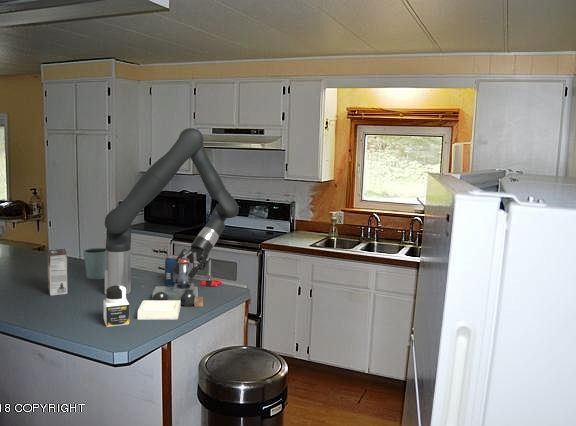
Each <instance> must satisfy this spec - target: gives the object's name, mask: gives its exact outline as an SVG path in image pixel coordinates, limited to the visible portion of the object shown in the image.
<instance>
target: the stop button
mask: <svg viewBox="0 0 576 426" xmlns="http://www.w3.org/2000/svg"><path fill="white" fill-rule="evenodd" d="M178 262H179V288H189V282H190V277H189V276H188V274H189V273H190V263H189V262H190V259H188V258H180V259H178Z"/></svg>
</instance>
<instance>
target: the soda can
mask: <svg viewBox="0 0 576 426" xmlns="http://www.w3.org/2000/svg"><path fill="white" fill-rule="evenodd" d="M178 256H179V254H178V255H177V254H171V255H170V254H169V255H167V256H166V257H165V258H166V259H165V260H164V282H165V284H166V286H174V284H175V283H179V273H178V274H175V273H174V272H173V270H174V268H175V267H176V265H177V264H178V263H177V261H176V258H177V257H178Z"/></svg>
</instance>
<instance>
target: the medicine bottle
mask: <svg viewBox="0 0 576 426" xmlns="http://www.w3.org/2000/svg"><path fill="white" fill-rule="evenodd" d="M105 295H106V299H103V320H104V324H105V326H106V328H109V327H117V326H126V325H129V324H130V302H129V301H128V299H127V294H126V288H125V287H123V286H118V285H117V286H111V287H109V288H107V289H106V294H105Z"/></svg>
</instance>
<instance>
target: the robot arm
mask: <svg viewBox="0 0 576 426" xmlns="http://www.w3.org/2000/svg"><path fill="white" fill-rule="evenodd" d="M189 159H191V161H192V163H193V165H194V166H195V168H196V171H197V173H198V175H199V176H200V178H201V182H202V183H203V185H204V187H205V190H206V192H208V195H209V196H210V198H211V199H212V200H215V201H217V204H216V206H214V209H213V210H212V213H211V216H210V218H209V220H208V221H207V223H206V224H205V226H204V227H203V228H202V229H201V230H200V231H199V233H198V234H197V236H195V239H194V240H193V242H192V243H191V245H190V247H191V248H190V249H189V250H187V249H186V248H183V249H182V251H181V252H180V253H179V254H178V257H177V258H176V261H177V263H178V264H177V265H176V267H175V268H174V270H173V272H174V273H175V274H178V273H179V262H178V259H180V258H188V259H190V262H189V264H193V265H194V267H192V269H191V270H189V274H188V276H189V279H193V278H194V277H195V276H196V275H197V273H198V272H199V271H204V270H205V269H206V267H208V262H209V261H210V259H211V260H212V257H211V258H210V257H209V256H210V255H209V254H210V252H211V251H212V249H213V248H214V246H215V245H216V243H218V242H217V241H218V240H219V238H220V236H221V235H222V233H223V231H224V230H225V229H226V224H225V221H226V220H227V219H232V218H233V219H234V218H235V217H237V216H238V214H239V205H238V203H237V201H236V199H235V198H234V197H233V196H232V194H231V193H230V192H229V191H228V190H227V188H226V186H225V184H224V183H223V180H222V178H221V177H220V175H219V173H218V172H217V170H216V169H215V167H214V165H213V163H212V162H211V160H210V158H209V156H208V154H207V151H206V149H205V147H204V136H203V133H202V132H201V131H200V130H199V129H196V128H194V127H188V128H187V127H186V128H185V129H183V130H182V131H181V132H180V134H179V136H178V138H177V140H175V142H174V144H173V145H172V146H171V148H170V149H168V151H167V152H166V153H165V154H164V155H162V156H161V157H160V158H159V159H158V160H157V161H155V162H154V163H153V164H152V165H151V166H150V167H148V169H147V170H146V171H145V173H143V174H142V176H141V177H140V178H139V179H138V181H137V182H136V183H135V184H134V186H133V187H132V189H131V190H130V192H129V193H128V195H127V196H126V197H125V198H124V199H123V201H121V202H120V203H119V204H118V205H117V206H116V207H114V208H113V209H111V210H110V211H109V212H108V213H107V214H106V216H105V218H104V226H105V229H106V238H105V239H106V240H105V248H106V270H105V271H104V273H105V278H104V295H106V289H107V288H109V287H111V286H117V285H118V286H123V287H125V288H126V295H128V294H130V293H131V290H132V289H131V288H132V285H131V281H132V277H131V276H132V275H131V274H132V273H131V272H132V270H131V269H132V266H131V265H132V264H131V263H132V262H131V261H132V259H131V258H132V257H131V254H132V250H131V249H132V247H131V245H132V222H134V220H135V219H136V217H137V216H138V215H139V213H141V211H142V210H143V209H144V208H145V207H146V206H147V205H149V204H150V203H151V202H152V201H153V200H154V199H155V198H156V197H157V196H158V195H159V194H161V192H162V191H163V190H164V189H165V188H166V187H167V186H168V184H170V182H171V181H172V180H173V178H174V177H175V175H176V174H177V173H178V172H179V170H180V169H181V167H182V166H183V165H184V164H185V163H186V162H187V161H188V160H189Z"/></svg>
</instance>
